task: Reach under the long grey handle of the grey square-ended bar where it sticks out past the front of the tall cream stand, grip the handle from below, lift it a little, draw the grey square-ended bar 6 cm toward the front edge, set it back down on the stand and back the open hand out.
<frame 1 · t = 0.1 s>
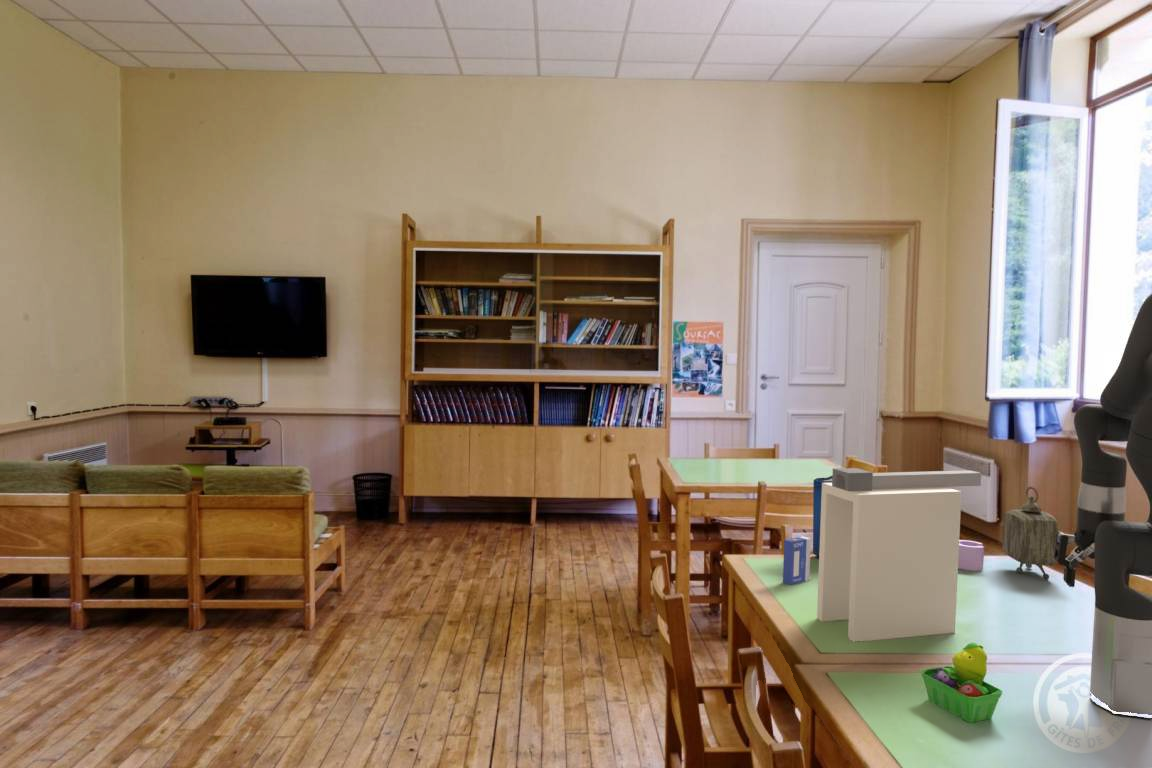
hand: (1095, 588, 144), 17 cm above the table, tool pointing down, fingers open, 8 cm apart
tabletop clock: (1026, 574, 212), on the table
clip: (944, 564, 220), on the table
book: (845, 557, 225), on the table
grey square-ended bar: (909, 486, 169), point 32 cm above the table, touching stand
fruit basket: (961, 709, 130), on the table
stand: (884, 625, 169), on the table
walkman: (796, 582, 200), on the table
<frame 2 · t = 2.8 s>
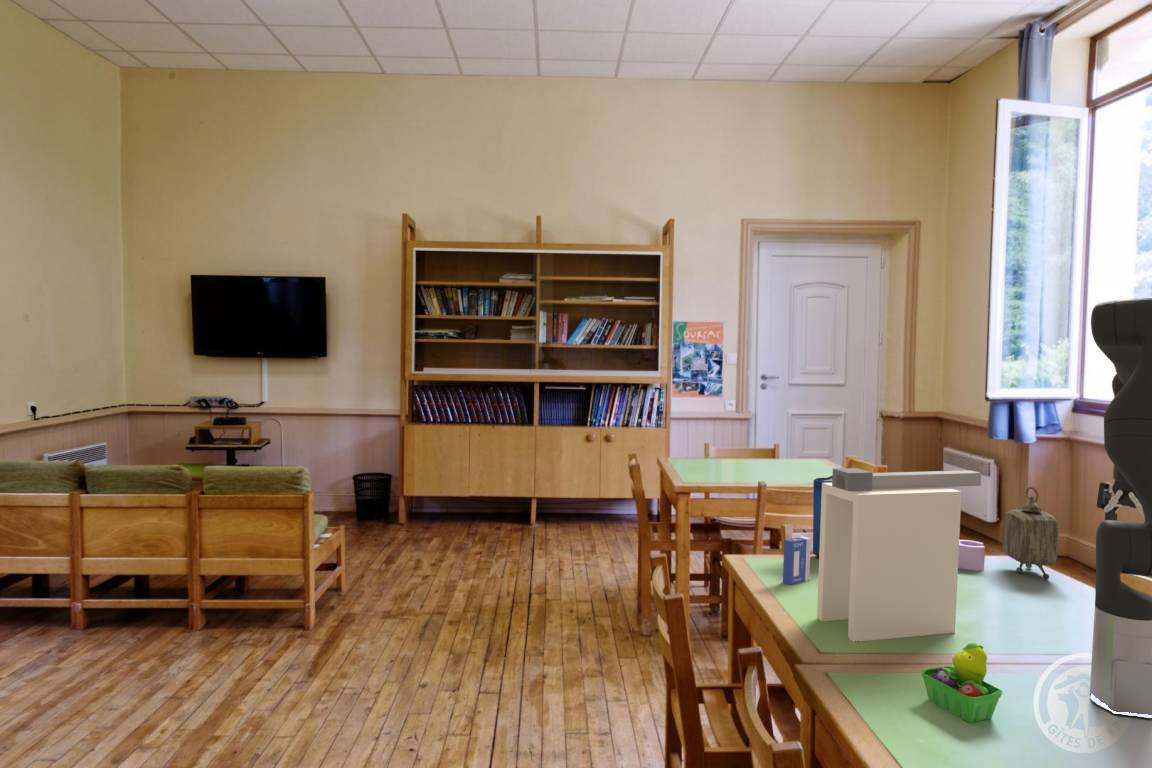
hand: (1129, 534, 163), 24 cm above the table, tool pointing down, fingers open, 8 cm apart
nothing on the table moved.
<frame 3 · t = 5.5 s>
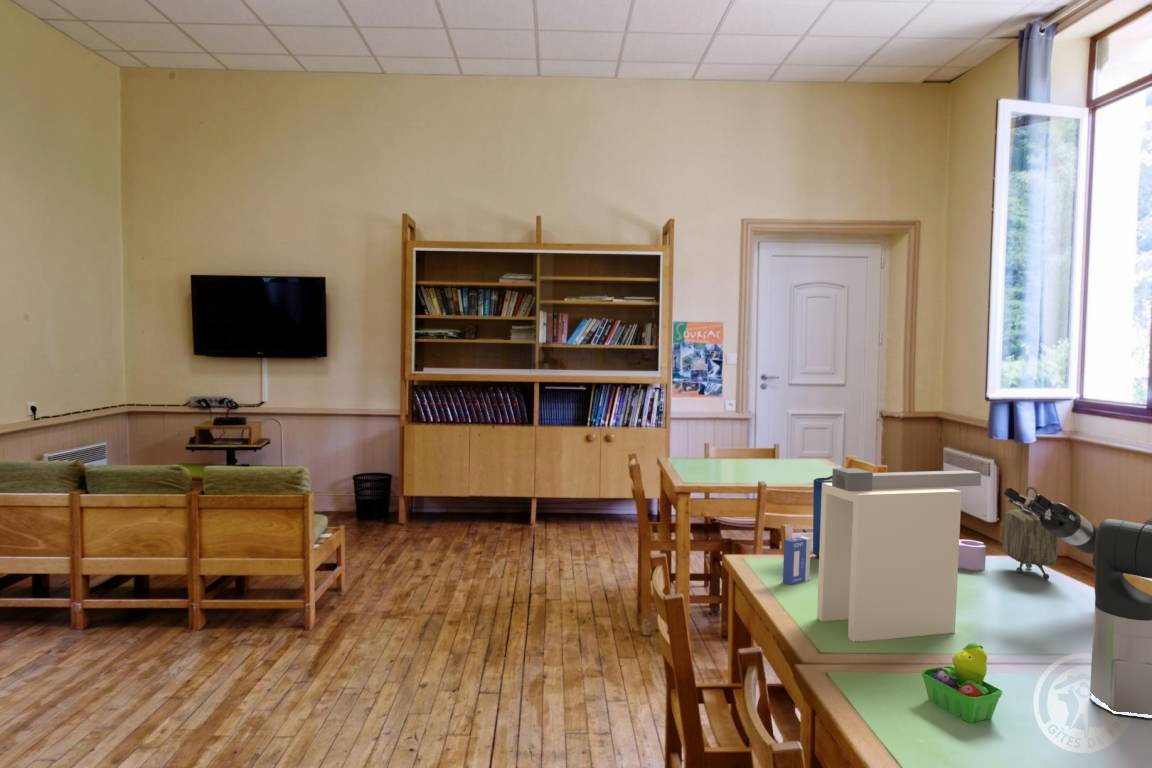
hand: (1021, 494, 177), 29 cm above the table, tool pointing upward, fingers open, 8 cm apart
nothing on the table moved.
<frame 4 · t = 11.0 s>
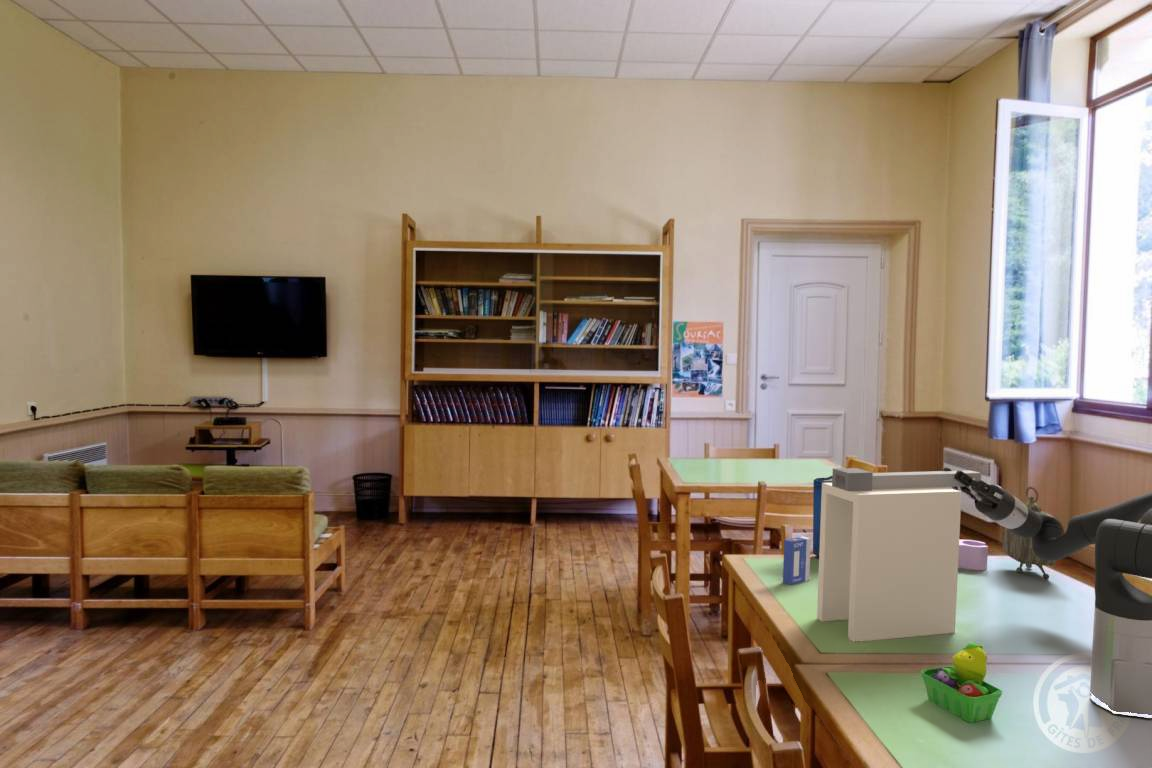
hand: (950, 472, 171), 35 cm above the table, tool pointing upward, fingers closed on grey square-ended bar, 3 cm apart
grey square-ended bar: (909, 486, 168), point 32 cm above the table, touching gripper, stand
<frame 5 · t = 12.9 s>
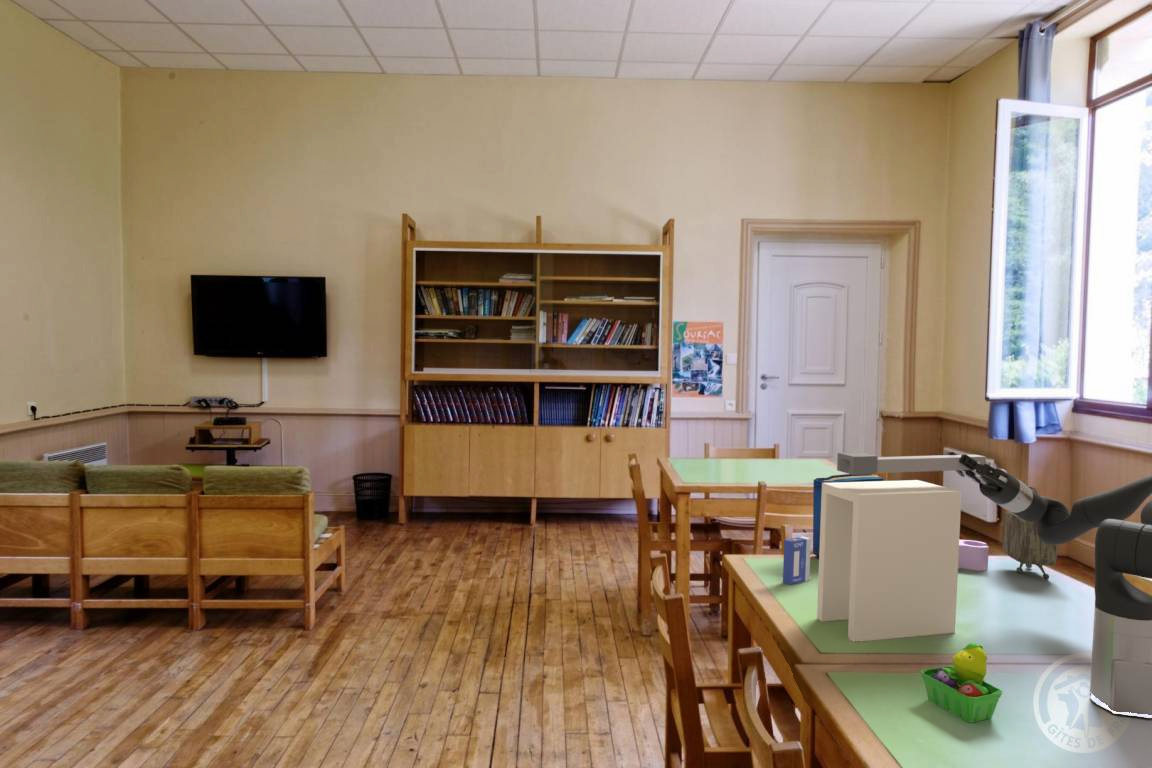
hand: (955, 456, 171), 39 cm above the table, tool pointing upward, fingers closed on grey square-ended bar, 3 cm apart
grey square-ended bar: (914, 470, 169), point 36 cm above the table, touching gripper
when the fingers open (36 cm above the table, at t = 15.1 s): grey square-ended bar stays where it is, resting on stand.
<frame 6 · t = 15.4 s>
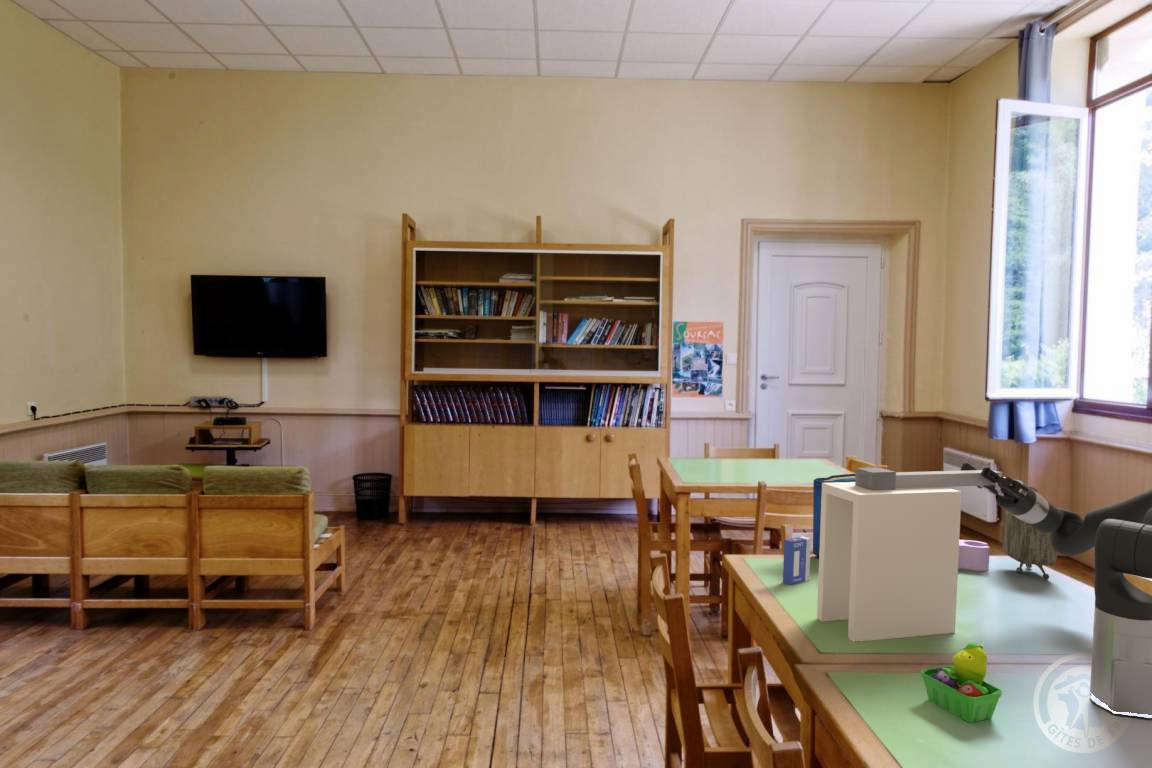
hand: (973, 468, 173), 36 cm above the table, tool pointing upward, fingers open, 5 cm apart
grey square-ended bar: (931, 485, 170), point 32 cm above the table, touching stand
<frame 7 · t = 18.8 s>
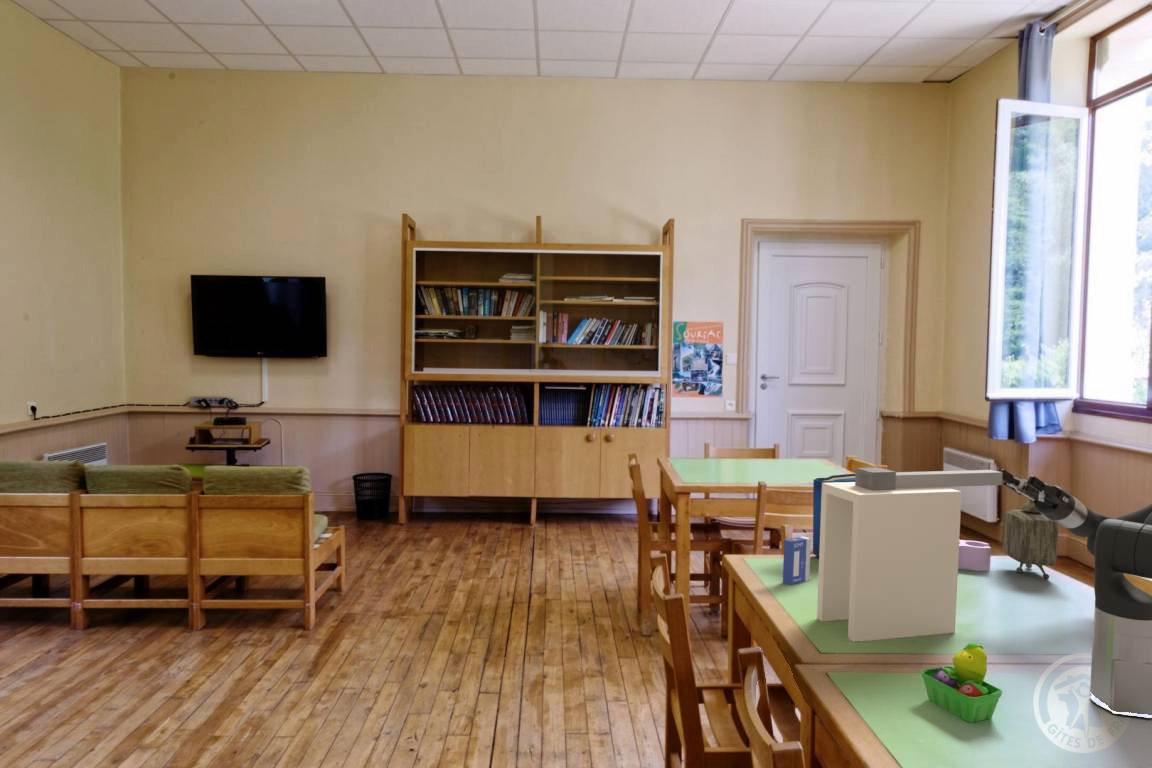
hand: (1014, 475, 176), 34 cm above the table, tool pointing upward, fingers open, 8 cm apart
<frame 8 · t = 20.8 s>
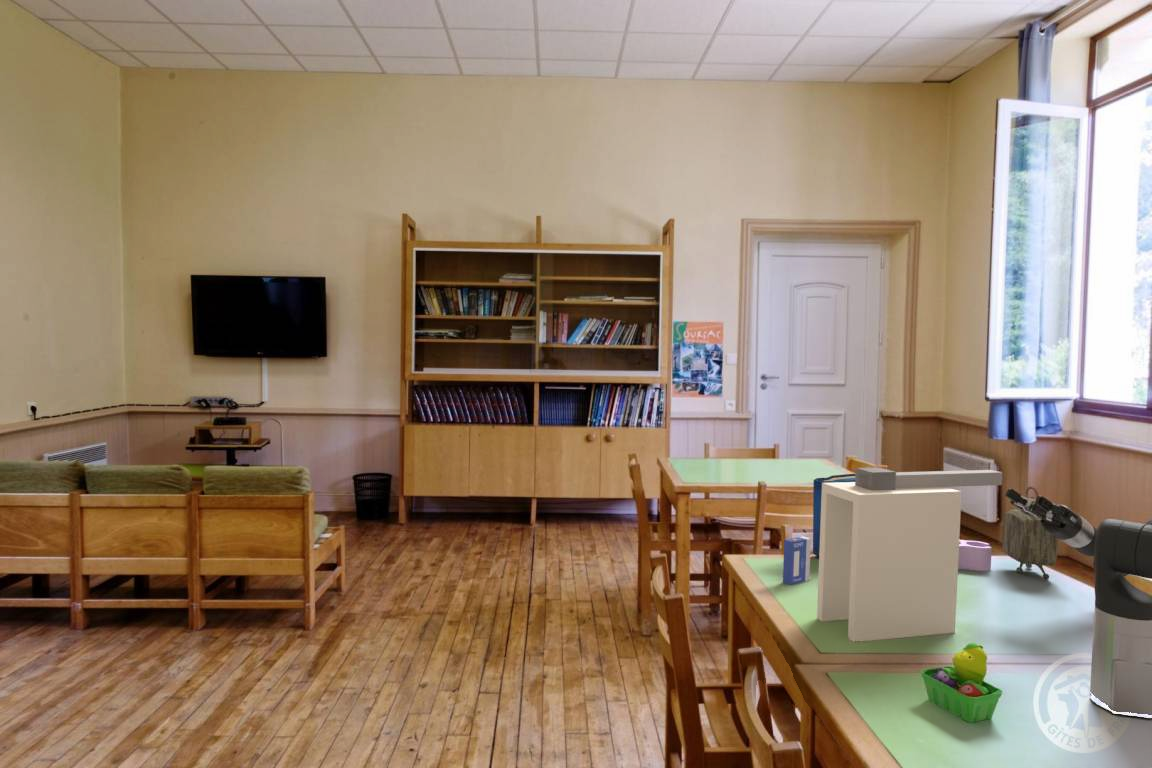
hand: (1022, 495, 177), 29 cm above the table, tool pointing upward, fingers open, 8 cm apart
at the end: grey square-ended bar 0.4 cm from the target spot on the stand, point 32.0 cm above the stand's base; grey square-ended bar touching stand; the gripper is holding nothing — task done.
